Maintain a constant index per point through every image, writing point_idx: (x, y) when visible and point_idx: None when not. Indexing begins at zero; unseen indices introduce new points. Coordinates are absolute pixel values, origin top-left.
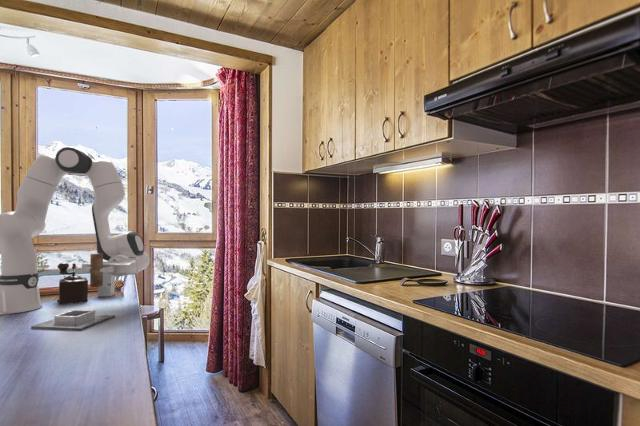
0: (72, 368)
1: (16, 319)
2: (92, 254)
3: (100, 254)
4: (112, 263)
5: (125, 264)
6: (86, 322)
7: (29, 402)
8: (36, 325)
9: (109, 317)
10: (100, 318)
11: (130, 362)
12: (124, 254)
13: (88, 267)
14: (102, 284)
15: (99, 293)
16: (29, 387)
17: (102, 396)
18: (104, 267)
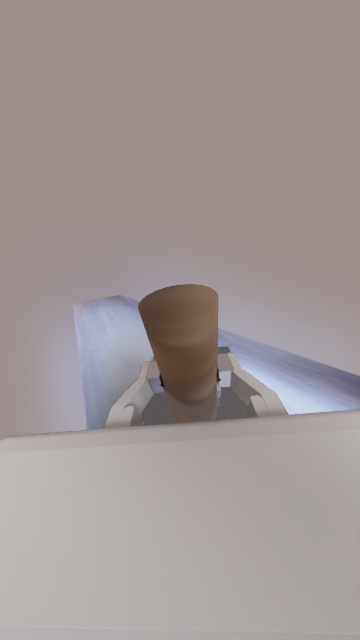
0: (116, 313)
1: (331, 377)
2: (186, 286)
3: (142, 299)
4: (127, 476)
5: (5, 439)
6: None
7: (118, 299)
8: (225, 350)
9: (143, 412)
10: (156, 400)
11: (83, 323)
12: None
13: (235, 358)
14: (175, 418)
15: None
16: (126, 302)
17: (91, 305)
18: (150, 377)
